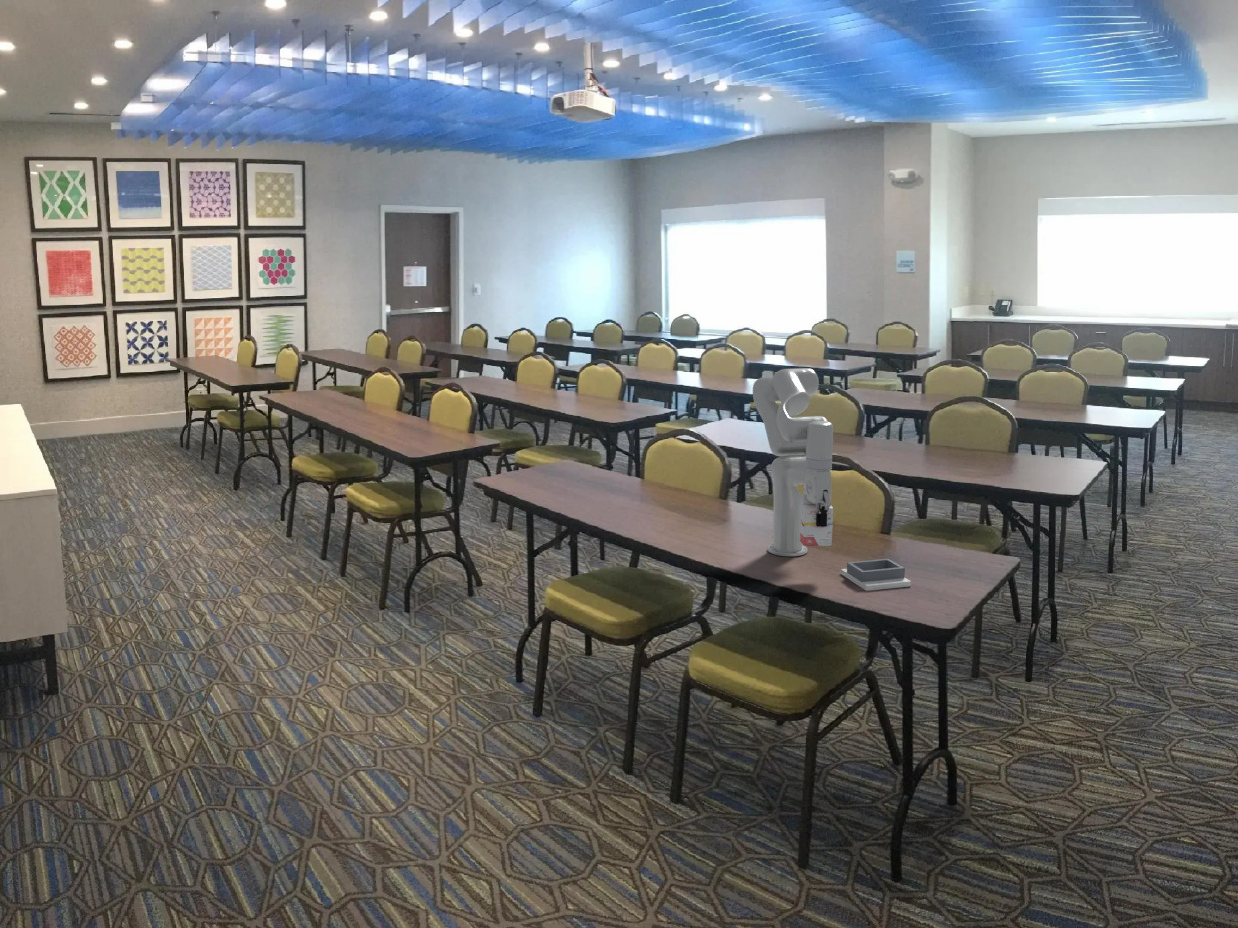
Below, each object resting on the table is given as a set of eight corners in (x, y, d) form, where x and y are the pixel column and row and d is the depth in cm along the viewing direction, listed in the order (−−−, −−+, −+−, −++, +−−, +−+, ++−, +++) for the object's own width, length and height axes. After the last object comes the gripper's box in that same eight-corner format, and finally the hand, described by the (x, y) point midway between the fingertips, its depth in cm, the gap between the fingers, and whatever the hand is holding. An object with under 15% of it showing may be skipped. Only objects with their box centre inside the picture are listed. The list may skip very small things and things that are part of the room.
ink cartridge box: (803, 546, 282) (805, 498, 279) (799, 541, 287) (801, 494, 284) (832, 546, 282) (834, 497, 279) (828, 540, 287) (830, 493, 284)
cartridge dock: (840, 573, 288) (841, 559, 287) (883, 569, 291) (883, 555, 290) (866, 590, 272) (866, 575, 271) (910, 586, 275) (911, 571, 275)
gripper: (794, 458, 286) (793, 516, 290) (819, 471, 270) (817, 532, 274) (818, 456, 288) (816, 514, 292) (844, 469, 272) (841, 530, 276)
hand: (816, 522), depth 283 cm, fingers closed on ink cartridge box, 5 cm apart
